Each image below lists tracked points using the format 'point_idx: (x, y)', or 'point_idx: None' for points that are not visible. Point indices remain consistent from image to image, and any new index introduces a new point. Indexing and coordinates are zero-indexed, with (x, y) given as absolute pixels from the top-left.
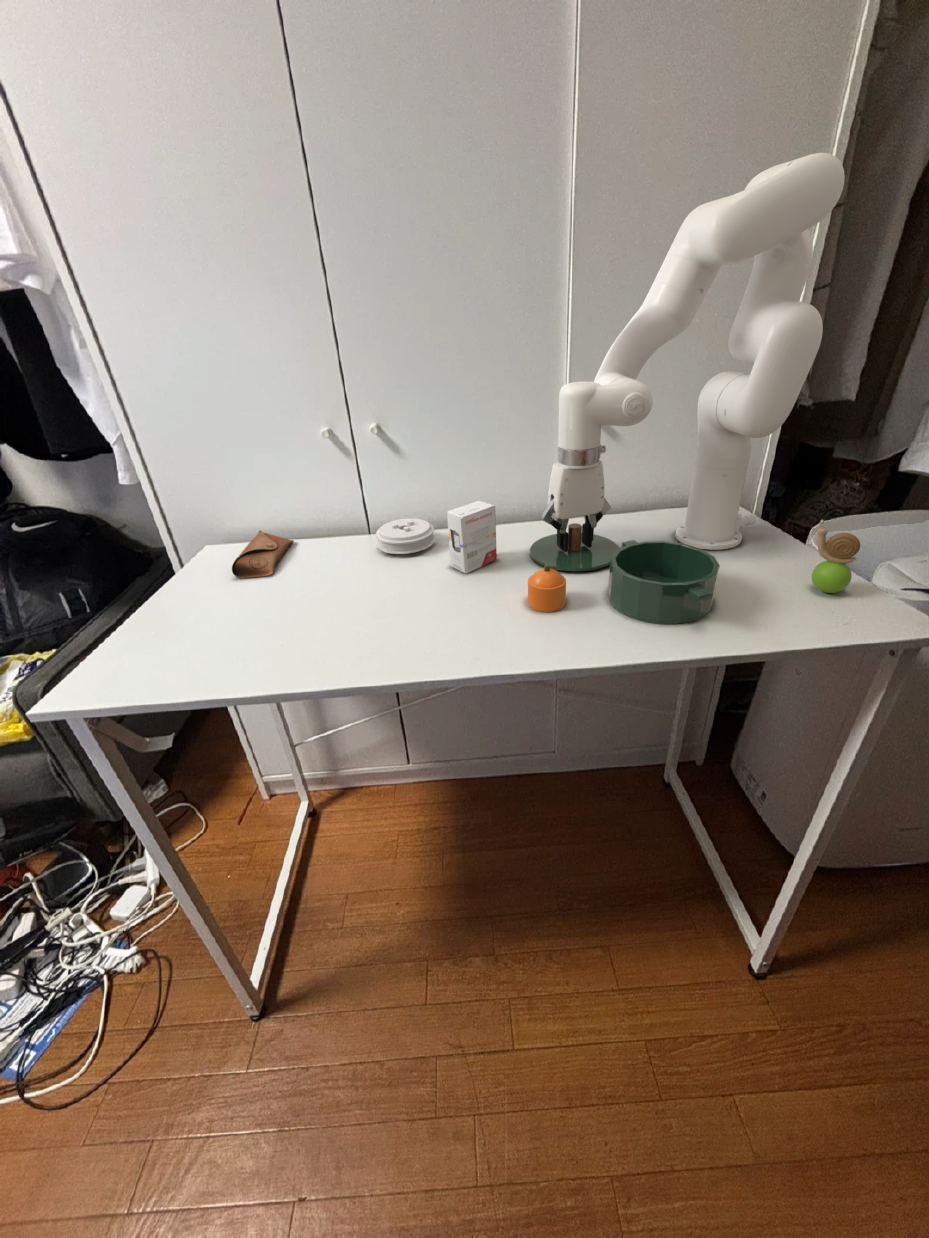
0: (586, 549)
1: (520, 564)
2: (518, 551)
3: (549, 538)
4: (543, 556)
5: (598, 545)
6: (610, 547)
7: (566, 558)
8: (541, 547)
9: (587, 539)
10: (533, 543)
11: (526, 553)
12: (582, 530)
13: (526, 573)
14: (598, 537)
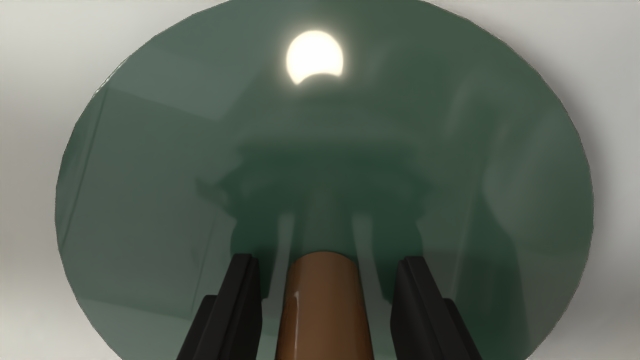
0: (382, 308)
1: (16, 248)
2: (7, 83)
3: (242, 60)
4: (125, 292)
5: (473, 291)
6: (506, 333)
7: None
8: (139, 186)
9: (401, 356)
10: (93, 98)
11: (62, 136)
12: (421, 332)
13: (42, 330)
14: (560, 199)
